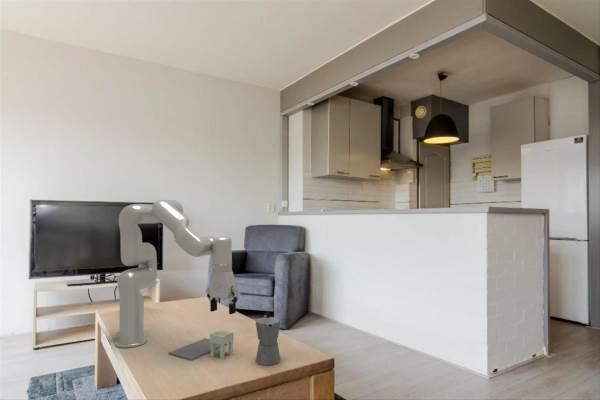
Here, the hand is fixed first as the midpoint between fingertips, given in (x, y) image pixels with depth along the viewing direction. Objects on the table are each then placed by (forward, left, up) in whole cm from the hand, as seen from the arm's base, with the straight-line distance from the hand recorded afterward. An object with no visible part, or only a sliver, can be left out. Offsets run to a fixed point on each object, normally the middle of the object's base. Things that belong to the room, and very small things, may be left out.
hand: (223, 312), depth 148 cm
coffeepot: (+18, +5, -17) cm, 25 cm away
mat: (-13, 0, -17) cm, 21 cm away
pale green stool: (0, 0, -17) cm, 17 cm away
